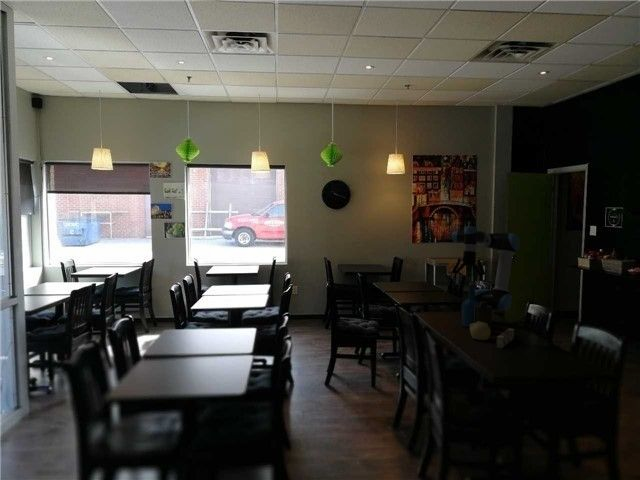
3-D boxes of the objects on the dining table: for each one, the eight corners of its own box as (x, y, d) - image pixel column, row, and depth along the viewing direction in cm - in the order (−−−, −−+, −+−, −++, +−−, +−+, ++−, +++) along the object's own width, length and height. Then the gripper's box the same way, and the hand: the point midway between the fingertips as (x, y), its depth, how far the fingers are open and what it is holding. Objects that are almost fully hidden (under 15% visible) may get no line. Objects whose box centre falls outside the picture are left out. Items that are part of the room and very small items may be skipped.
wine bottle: (484, 328, 308) (484, 283, 307) (464, 328, 309) (464, 284, 307) (478, 323, 322) (478, 280, 320) (459, 323, 322) (459, 281, 321)
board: (508, 338, 283) (508, 327, 283) (513, 338, 281) (513, 328, 281) (496, 347, 264) (496, 336, 264) (502, 348, 262) (502, 337, 262)
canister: (489, 330, 302) (489, 300, 301) (493, 334, 292) (493, 303, 291) (472, 330, 303) (472, 300, 302) (476, 334, 293) (476, 303, 292)
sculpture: (485, 336, 288) (485, 319, 288) (493, 341, 276) (493, 323, 276) (467, 336, 288) (467, 319, 287) (474, 342, 276) (474, 324, 275)
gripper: (448, 249, 294) (446, 283, 293) (488, 252, 278) (486, 286, 278) (452, 250, 299) (450, 282, 299) (491, 252, 284) (489, 286, 284)
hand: (467, 284), depth 289 cm, fingers open, 13 cm apart
